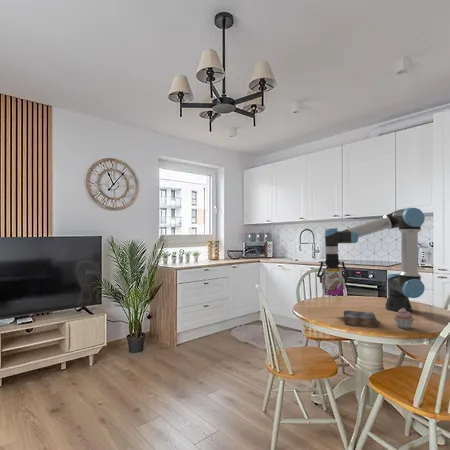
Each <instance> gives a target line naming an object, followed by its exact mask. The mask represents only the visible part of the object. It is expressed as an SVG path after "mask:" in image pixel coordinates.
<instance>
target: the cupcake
mask: <svg viewBox="0 0 450 450" xmlns="http://www.w3.org/2000/svg"><path fill="white" fill-rule="evenodd" d="M393 318H394V320H395V324H396V326H397V328H399V329H403V330H410V329H412V327H413V326H412V325H413V322H414V320H415V319H414V318H413V316H412V314H411V311H409V312H408V311H406V309H404V308H402V309H400V310H399V311H396V313H395V316H393Z"/></svg>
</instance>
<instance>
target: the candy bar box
mask: <svg viewBox="0 0 450 450" xmlns="http://www.w3.org/2000/svg"><path fill="white" fill-rule="evenodd" d="M339 268H340V269H337V268H335V269H334V268H328V269H326V267H322V272H323V271H324V275H323V276H322V278H323V295H324V296H327V297H328V296H336V297H337V296H344V289H343V278H344V277H343V276H342V273H341V271H342V272H343V273H344V268H343V267H342V268H341V267H339Z"/></svg>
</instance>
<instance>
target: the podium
mask: <svg viewBox="0 0 450 450" xmlns="http://www.w3.org/2000/svg"><path fill="white" fill-rule="evenodd" d="M343 319H344V325H346V326H347V325H348V326H356V327H357V326H360V327H370V328H371V327H372V328H373V327H374V328H378V319H377V317H376V315H375V312H371V311H369V312H368V311H359V310H358V311H355V310H344V311H343Z"/></svg>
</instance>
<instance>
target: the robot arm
mask: <svg viewBox="0 0 450 450" xmlns="http://www.w3.org/2000/svg"><path fill="white" fill-rule="evenodd" d="M425 217H426V216H425V213H423V211H422V210H421V209H419V208H418V207H407V208H401V209H397V210H395V211H393V212H391V213H388V214H385V215H383V217H381V218H377V219H374V220H372V221H368V222H366V223H361V224H359V225H356V226H353V227H349V228H346V229H344V230H341V231H339V230H338V228H336V227H332V228H331V227H330V228H325V230H324V242H325V243H324V245H325V246H324V247H325V248H324V249H325V250H324V251H325V261H320V266H319V269H318V271H317V274H316V277H317V278H319V283H320V284H321V289H323V275H324V271H323V266H324V265H325V266H326V267H325V268H326V269H328V268H334V269H335V268H337V269H340V268H341V267H339V265H341V266H342V269H343V272H342V271H341V273H342V276H343V290H345V289H346V284H347V279H348V278H350V274H349V272H348V270H347V268H346V266H345V261H340V260H339V244H356V243H358V242H359V239H360V238H363V237H364V236H368V235H372V234H374V233H378V232H380V231H383V230H386V229H387V230H393V229H397V228H398V231H399V232H400V233H401V235H400V236H401V245H400V246H401V248H400V249H401V250H400V251H401V257H400V258H401V265H400V267H401V268H400V272H398V273H388V274H387V298H386V301H385V303H384V304H385V305H384V307H385V309H387V311H393V312H398V311H399V310H400V309H402V308H404V309H406V311H408V312H412V311H413V306H412V304H411V301H410V298H411V299H417V298H420V297H421V296H423V294H424V292H425V284H424V283H423V281H422V280H421V277H422V276H421V274H420V273H419V271H418V270H419V268H418V267H419V266H418V261H419V260H418V259H419V258H418V257H419V251H418V250H419V249H418V247H419V241H418V238H419V236H418V235H419V234H418V233H419V232H420V231H421V230H422V228H421V227H422V225H424V223H425V221H426V218H425ZM321 271H322V273H321ZM344 272H345V273H344ZM323 290H324V289H323Z"/></svg>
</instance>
